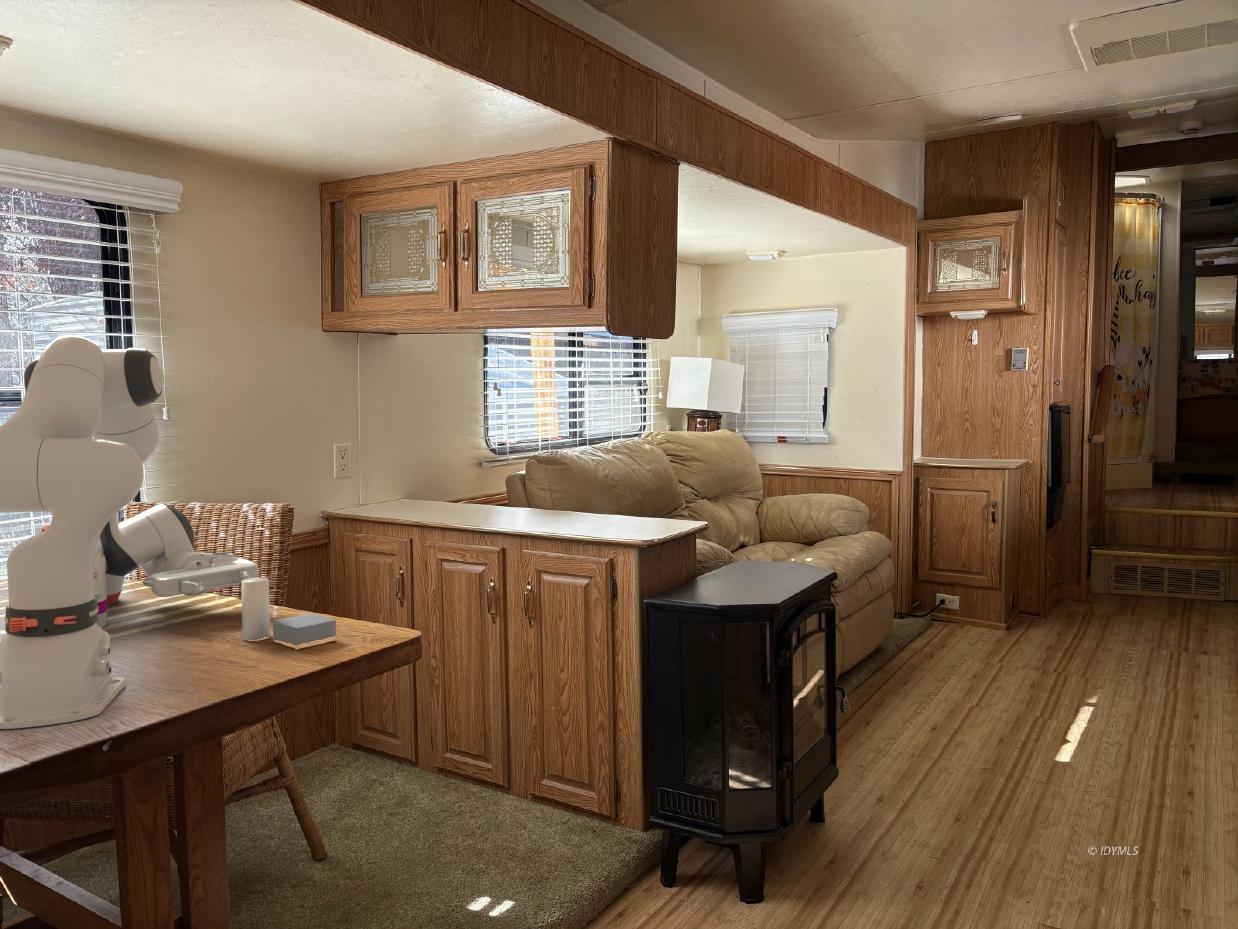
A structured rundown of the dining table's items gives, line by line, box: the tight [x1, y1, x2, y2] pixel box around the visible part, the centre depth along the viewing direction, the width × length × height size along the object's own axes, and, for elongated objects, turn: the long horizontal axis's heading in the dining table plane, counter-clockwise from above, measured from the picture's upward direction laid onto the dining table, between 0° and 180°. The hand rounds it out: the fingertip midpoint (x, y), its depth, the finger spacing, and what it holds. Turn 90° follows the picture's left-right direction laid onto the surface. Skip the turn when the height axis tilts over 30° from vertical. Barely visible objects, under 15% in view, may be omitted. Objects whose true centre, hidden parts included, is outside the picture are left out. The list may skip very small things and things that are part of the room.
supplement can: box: [93, 549, 109, 629], centre depth 180 cm, size 8×8×15 cm
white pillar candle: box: [240, 577, 271, 640], centre depth 175 cm, size 5×5×11 cm
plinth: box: [272, 612, 337, 646], centre depth 173 cm, size 8×8×4 cm
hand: (224, 584), depth 183 cm, fingers open, 8 cm apart
